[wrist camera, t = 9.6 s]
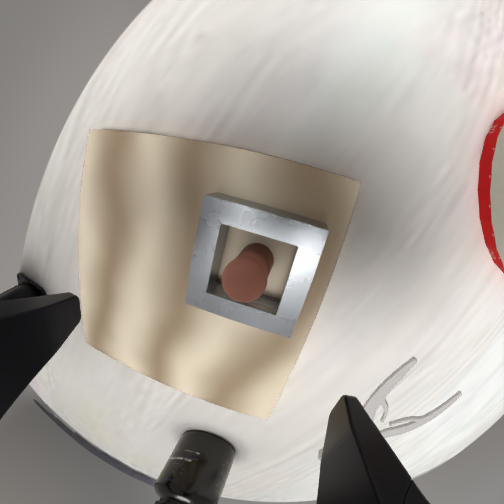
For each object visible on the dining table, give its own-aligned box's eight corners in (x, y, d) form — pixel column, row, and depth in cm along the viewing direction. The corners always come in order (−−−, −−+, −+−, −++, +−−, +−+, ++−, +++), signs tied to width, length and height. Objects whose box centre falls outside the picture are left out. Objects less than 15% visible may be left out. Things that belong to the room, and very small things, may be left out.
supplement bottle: (192, 421, 25) (147, 506, 13) (246, 447, 24) (217, 534, 13) (174, 440, 27) (136, 510, 16) (221, 463, 27) (193, 534, 16)
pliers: (465, 400, 16) (357, 472, 21) (460, 390, 18) (357, 462, 23) (415, 365, 16) (294, 451, 21) (410, 353, 18) (295, 439, 23)
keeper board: (94, 335, 24) (59, 364, 18) (102, 130, 17) (47, 126, 12) (270, 408, 22) (257, 458, 16) (356, 181, 15) (381, 186, 10)
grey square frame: (197, 289, 18) (184, 302, 16) (216, 191, 15) (203, 194, 14) (292, 320, 17) (289, 338, 15) (326, 223, 15) (329, 230, 13)
